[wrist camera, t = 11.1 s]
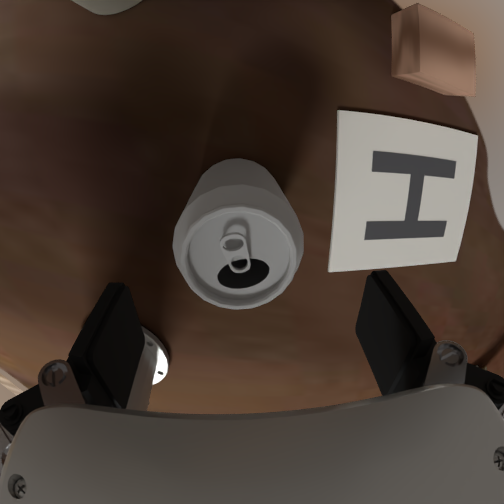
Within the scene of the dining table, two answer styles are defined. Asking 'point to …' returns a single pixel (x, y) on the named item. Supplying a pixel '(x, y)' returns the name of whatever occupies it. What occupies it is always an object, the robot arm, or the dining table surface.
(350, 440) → the robot arm
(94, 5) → the travel mug
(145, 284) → the dining table surface
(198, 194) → the can
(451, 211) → the letter card
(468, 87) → the brown block
